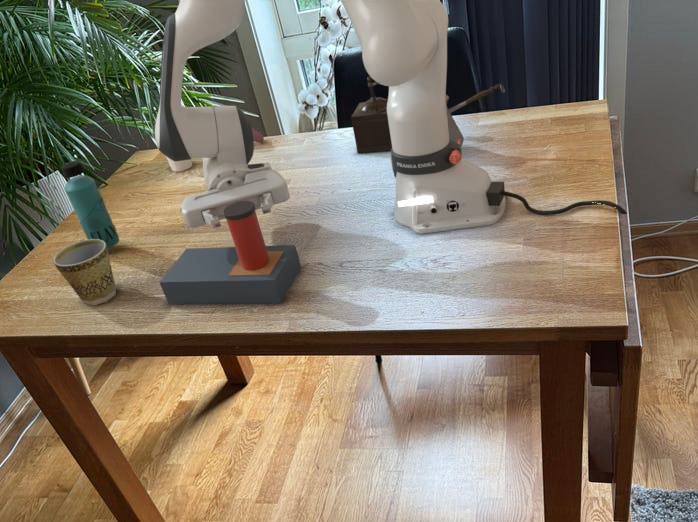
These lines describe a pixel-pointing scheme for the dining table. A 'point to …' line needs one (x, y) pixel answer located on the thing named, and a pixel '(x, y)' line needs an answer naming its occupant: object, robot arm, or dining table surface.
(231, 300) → the platform
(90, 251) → the ceramic cup
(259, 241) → the red canister
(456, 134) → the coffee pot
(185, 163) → the white short cylinder
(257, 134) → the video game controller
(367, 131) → the manual coffee grinder
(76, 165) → the beverage bottle
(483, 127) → the dining table surface
